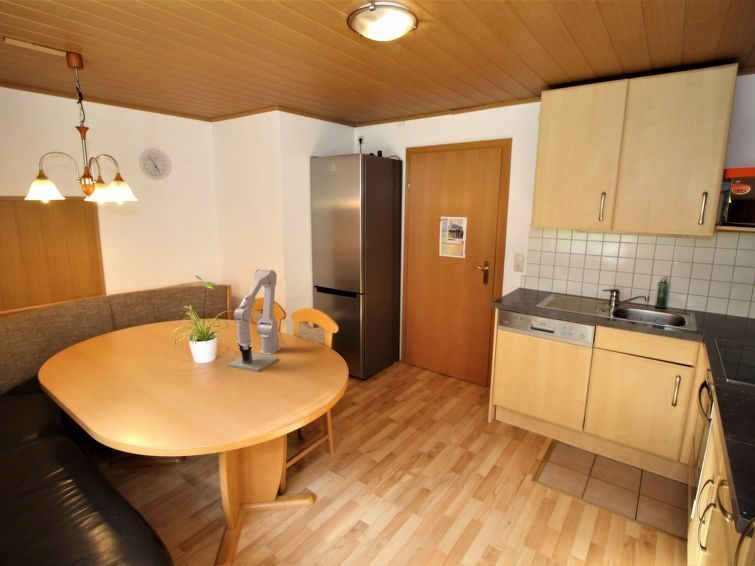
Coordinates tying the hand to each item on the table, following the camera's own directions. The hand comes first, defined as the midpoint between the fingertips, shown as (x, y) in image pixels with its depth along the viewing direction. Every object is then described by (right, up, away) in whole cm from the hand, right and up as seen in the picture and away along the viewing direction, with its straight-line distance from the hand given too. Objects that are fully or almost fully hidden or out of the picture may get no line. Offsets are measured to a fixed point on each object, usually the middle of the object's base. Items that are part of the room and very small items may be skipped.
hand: (245, 358), depth 205 cm
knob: (+1, -2, +1) cm, 2 cm away
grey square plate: (+3, -3, +3) cm, 5 cm away
